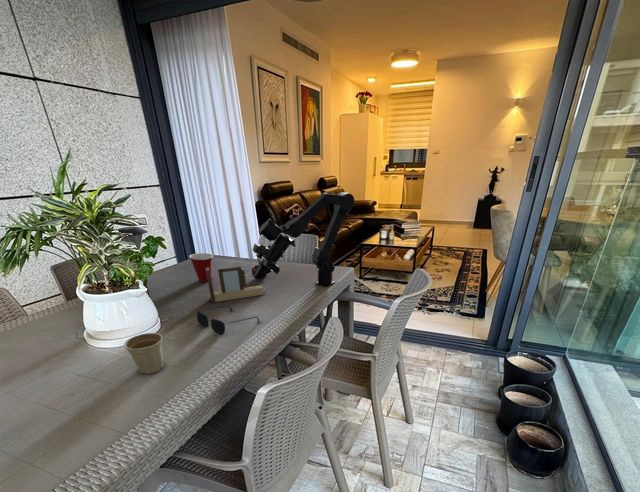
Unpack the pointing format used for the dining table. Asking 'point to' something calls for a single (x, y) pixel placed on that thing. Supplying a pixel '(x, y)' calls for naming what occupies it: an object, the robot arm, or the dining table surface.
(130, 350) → the flower pot
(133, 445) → the dining table surface
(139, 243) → the solar garden light
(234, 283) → the brown picture frame
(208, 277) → the wooden display stand
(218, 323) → the sunglasses
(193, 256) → the plastic cup
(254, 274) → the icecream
